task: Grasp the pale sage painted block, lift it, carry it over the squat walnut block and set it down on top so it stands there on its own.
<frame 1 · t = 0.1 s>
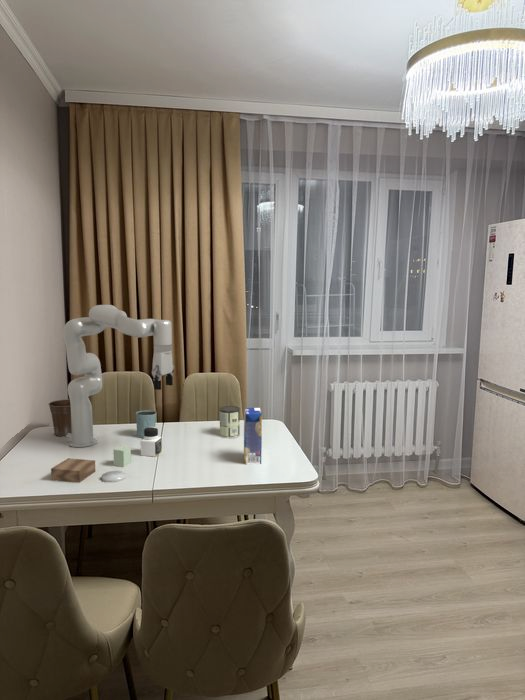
hand: (163, 387, 224), 31 cm above the table, fingers open, 9 cm apart
plant pot: (67, 433, 260), on the table
medicine bottle: (151, 454, 231), on the table
sage block: (122, 464, 218), on the table
coffee can: (229, 435, 260), on the table
beverage box: (252, 460, 225), on the table
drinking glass: (146, 436, 257), on the table
white domed disc: (113, 478, 203), on the table
walnut block: (74, 476, 204), on the table
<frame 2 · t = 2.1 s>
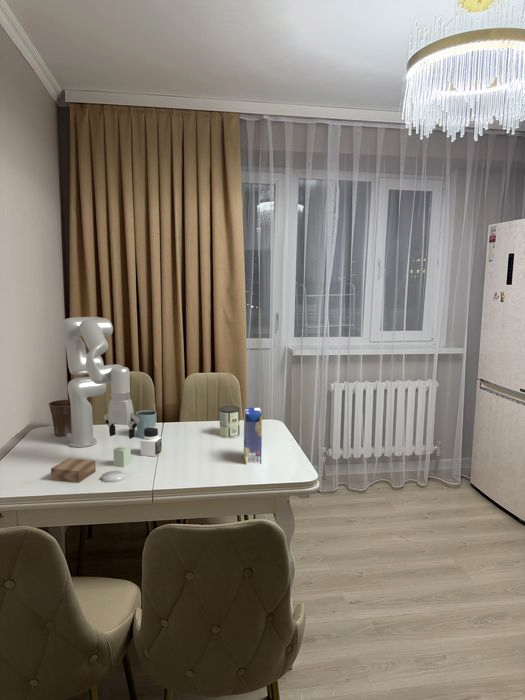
hand: (122, 436, 216), 12 cm above the table, fingers open, 9 cm apart
nothing on the table moved.
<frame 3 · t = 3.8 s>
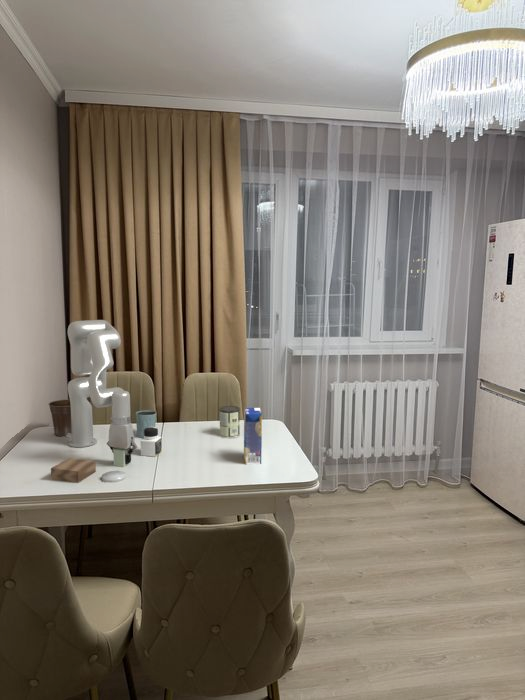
hand: (122, 461, 217), 1 cm above the table, fingers closed on sage block, 5 cm apart
sage block: (122, 464, 218), on the table, touching gripper
everything else where it was.
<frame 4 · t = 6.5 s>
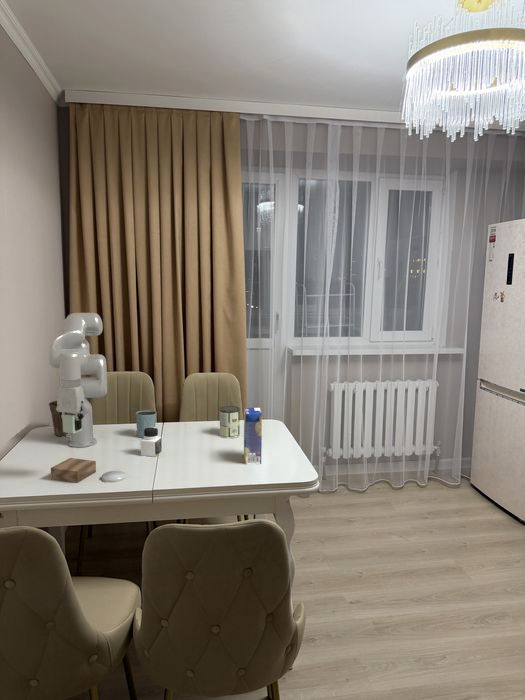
hand: (72, 428, 202), 19 cm above the table, fingers closed on sage block, 5 cm apart
sage block: (72, 431, 202), point 18 cm above the table, touching gripper
everything else where it was.
when the fingers open (7 cm above the table, at t = 9.2 s): sage block drops 1 cm, resting on walnut block.
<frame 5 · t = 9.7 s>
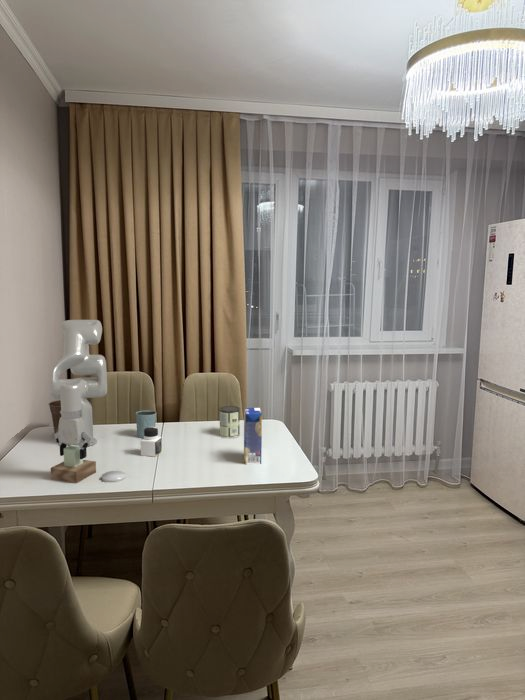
hand: (73, 456, 203), 8 cm above the table, fingers open, 9 cm apart
sage block: (73, 464, 204), point 5 cm above the table, touching walnut block
walnut block: (74, 476, 204), on the table, touching sage block
everything else where it was.
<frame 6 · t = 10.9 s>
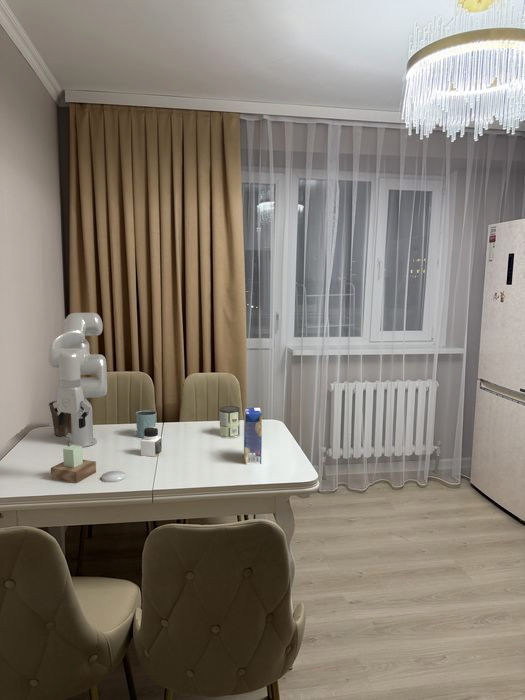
hand: (72, 425, 202), 20 cm above the table, fingers open, 9 cm apart
nothing on the table moved.
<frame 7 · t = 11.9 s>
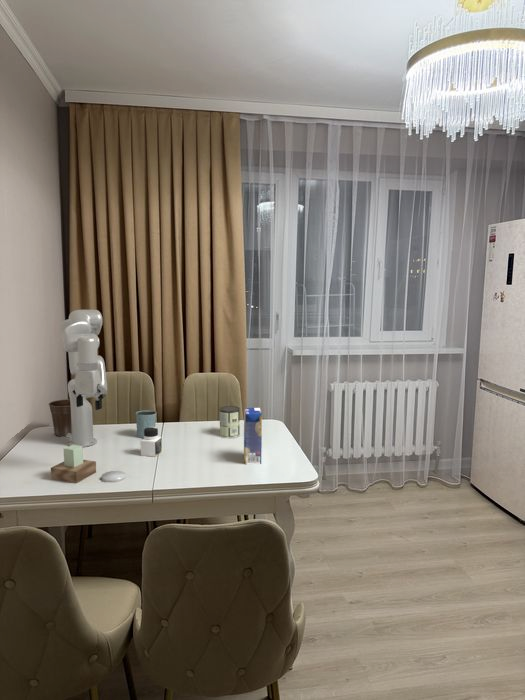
hand: (89, 407, 211), 25 cm above the table, fingers open, 9 cm apart
sage block: (73, 464, 204), point 5 cm above the table
walnut block: (74, 476, 204), on the table
everything else where it was.
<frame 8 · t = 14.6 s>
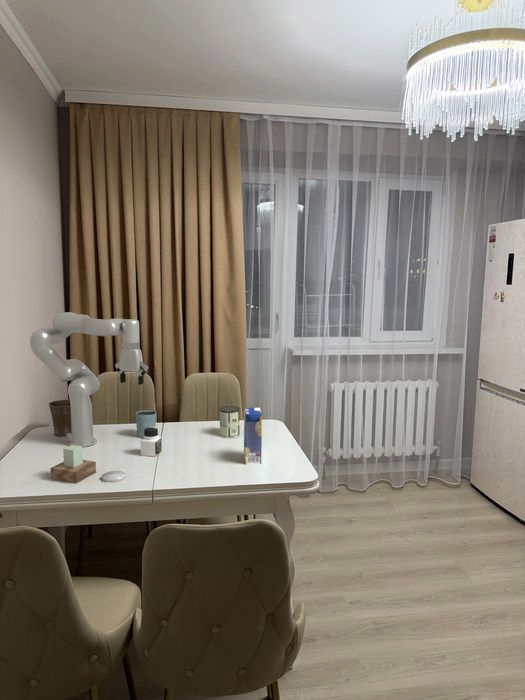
hand: (131, 383, 236), 30 cm above the table, fingers open, 9 cm apart
sage block: (73, 464, 204), point 5 cm above the table, touching walnut block
walnut block: (73, 476, 204), on the table, touching sage block
everything else where it was.
at the end: sage block inside the target area on the walnut block (0.1 cm from its centre), point 5.0 cm above the walnut block's base; sage block tilted 0°; sage block touching walnut block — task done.
